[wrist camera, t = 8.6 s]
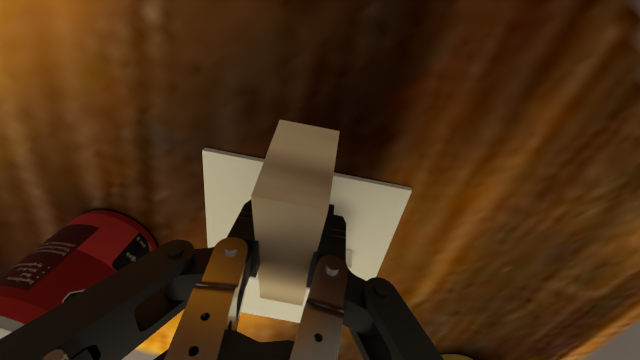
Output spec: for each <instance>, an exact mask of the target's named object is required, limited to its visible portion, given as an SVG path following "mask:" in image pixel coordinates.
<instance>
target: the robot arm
mask: <svg viewBox="0 0 640 360" xmlns="http://www.w3.org/2000/svg"><path fill="white" fill-rule="evenodd" d="M259 267H260V254H259V241H257V240H255V235H254V224H253V213H252V202H251V200H249V201H248V202H246V203H245V204H244V206H243V208H242V209H241V212H240V213H239V215H238V218H237V219H236V221H235V223H234V224H233V226H232V228H231V230H230V232H229V234H228V236H227V238H225V239H222V240H220V241H219V242H218V243H217V244H216V245H215V247H211V248H203V249H194V247H193V245H192V244H191V243H190V242H188V241H185V240H173V241H170V242H167V243H165V244H163V245H162V246H160V247H158V248H157V249H155V250H153V251H151V252H150V253H148V254H146V255H144V256H143V257H141V258H139V259H137V260H136V261H134V262H132V263H131V264H129V265H127V266H125V267H124V268H122V269H120V270H118V271H117V272H115V273H113V274H112V275H110V276H108V277H106V278H105V279H103V280H101V281H99V282H98V283H96V284H94V285H93V286H91V287H89V288H87V289H86V290H84V291H82V292H80V293H79V294H77V295H75V296H74V297H72V298H70V299H68V300H67V301H65V302H63V303H61V304H60V305H58V306H56V307H55V308H53V309H51V310H49V311H48V312H46V313H44V314H42V315H41V316H39V317H37V318H36V319H34V320H32V321H30V322H29V323H27V324H25V325H23V326H22V327H20V328H18V329H17V330H15V331H13V332H11V333H10V334H8V335H6V336H4V337H3V338H1V339H0V360H122V359H123V358H124V357H125V356H126V355H128V354H129V353H130V352H131V351H133V350H134V349H135V348H136V347H138V346H139V345H140V344H141V343H143V342H144V341H145V340H146V339H148V338H149V337H150V336H151V335H152V334H154V333H155V332H156V331H157V330H159V329H160V328H161V327H162V326H164V325H165V324H166V323H167V322H169V321H170V320H171V319H172V318H174V317H175V316H176V315H177V314H178V313H180V312H181V311H182V310H183V309H185V310H184V312H183V315H182V317H181V320H180V322H179V325H178V327H177V330H176V332H175V334H174V337H173V339H172V342H171V344H170V347H169V349H168V350H166V351H165V352H164V353H162V354H161V355H159V356H158V357H157V358H155V359H154V360H337V358H338V351H339V344H340V337H341V330H342V324H343V325H345V326H347V327H349V328H350V332H351V334H352V336H353V338H354V340H355V342H356V345H357V347H358V349H359V351H360V353H361V355H362V357H363V359H364V360H444V359H443V358H442V356H441V355H440V353H439V352H438V350H437V349H436V347H435V346H434V344H433V343H432V342H431V340H430V339H429V337H428V336H427V334H426V333H425V331H424V330H423V328H422V327H421V325H420V324H419V322H418V321H417V320H416V318H415V317H414V315H413V314H412V312H411V311H410V309H409V308H408V306H407V305H406V303H405V302H404V301H403V299H402V298H401V296H400V295H399V293H398V292H397V290H396V289H395V287H394V286H393V285H392V284H391V283H390V282H389V281H387V280H385V279H383V278H379V277H374V278H370V279H368V280H367V281H366V280H364V279H362V278H360V277H358V276H356V275H355V274H353V273H352V272H351V271H350V270H349V268H348V267H347V264H346V222H345V220H344V218H343V216H339V215H334V205H332V204H329V208H328V213H327V217H326V220H325V224H324V228H323V231H322V235H321V239H320V242H319V246H318V250H317V252H313V256H312V260H311V264H310V268H309V272H308V277H307V283H306V287H307V288H310V290H309V294H308V297H307V300H306V303H305V306H304V310H303V314H302V317H301V321H300V324H299V328H298V331H297V335H296V338H295V341H290V340H286V341H274V342H258V341H256V340H254V339H252V338H250V337H247V336H245V335H243V334H241V333H239V332H237V327H238V322H239V318H240V313H241V309H242V304H243V300H244V295H245V291H246V286H247V283H248V280H249V278H250V277H254V278H256V275H257V273H258V270H259Z"/></svg>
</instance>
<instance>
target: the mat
mask: <svg viewBox="0 0 640 360" xmlns="http://www.w3.org/2000/svg"><path fill="white" fill-rule="evenodd" d="M202 155H203V172H204V189H205V207H206V224H207V242H208V248H211V247H215V245H216V244H217V243H218V242H219V241H220V240H222V239H225V238H227V236H228V234H229V232H230V230H231V228H232V226H233V224H234V223H235V221H236V219H237V218H238V215H239V213H240V212H241V209H242V208H243V206H244V204H245V203H246V202H248V201H249V200H251V195H252V192H253V189H254V187H255V184H256V181H257V179H258V176H259V173H260V171H261V168H262V165H263V163H264V160H265V159H262V158H257V157H251V156H246V155H241V154H236V153H231V152H226V151H220V150H215V149H210V148H204V149H203V150H202ZM411 192H412V190H411V187H407V186H401V185H396V184H391V183H386V182H381V181H376V180H370V179H365V178H360V177H355V176H350V175H345V174H339V173H334V174H333V181H332V188H331V194H330V201H329V204H332V205H334V215H339V216H343V218H344V220H345V222H346V249H347V250H351V251H352V268H351V272H352V273H353V274H355V275H356V276H358V277H360V278H362V279H364V280H366V281H367V280H368V279H370V278H374V277H376V276H377V273H378V271H379V269H380V266H381V264H382V261H383V259H384V257H385V254H386V252H387V249H388V247H389V245H390V242H391V240H392V237H393V235H394V233H395V230H396V228H397V225H398V223H399V221H400V218H401V216H402V213H403V211H404V209H405V206H406V204H407V202H408V199H409V197H410V194H411Z"/></svg>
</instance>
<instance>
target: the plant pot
mask: <svg viewBox="0 0 640 360" xmlns="http://www.w3.org/2000/svg"><path fill="white" fill-rule="evenodd" d="M441 356H442V358H443V359H444V360H473V359H471V358H469V357H467V356H463V355H459V354H442V355H441Z"/></svg>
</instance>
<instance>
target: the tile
mask: <svg viewBox="0 0 640 360" xmlns="http://www.w3.org/2000/svg"><path fill="white" fill-rule="evenodd" d="M346 264H347V267H348V268H349V270H350V271H351V268H352V251H351V250H347V249H346ZM308 294H309V290H306V294H305V297H304V301H303V305H302V306H300V305H295V304H290V303H284V302H279V301H274V300H269V299H263V298H260V290H259V280H254V279H249V280H248V283H247V286H246V291H245V295H244V300H243V304H242V309H241V312H244V313H249V314H254V315H260V316H265V317H271V318H276V319H281V320H287V321H292V322H298V323H300V321H301V317H302V314H303V310H304V306H305V303H306V300H307V297H308Z"/></svg>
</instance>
